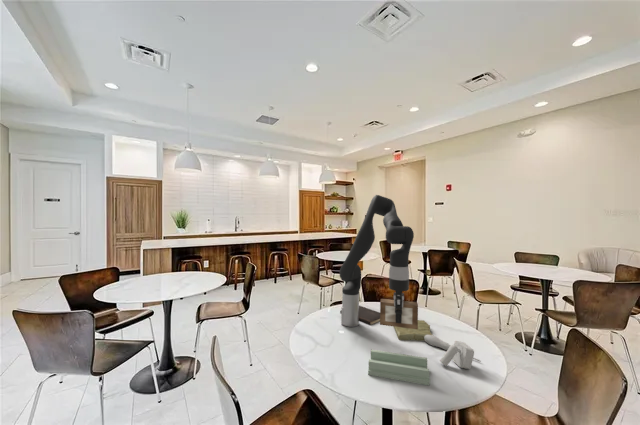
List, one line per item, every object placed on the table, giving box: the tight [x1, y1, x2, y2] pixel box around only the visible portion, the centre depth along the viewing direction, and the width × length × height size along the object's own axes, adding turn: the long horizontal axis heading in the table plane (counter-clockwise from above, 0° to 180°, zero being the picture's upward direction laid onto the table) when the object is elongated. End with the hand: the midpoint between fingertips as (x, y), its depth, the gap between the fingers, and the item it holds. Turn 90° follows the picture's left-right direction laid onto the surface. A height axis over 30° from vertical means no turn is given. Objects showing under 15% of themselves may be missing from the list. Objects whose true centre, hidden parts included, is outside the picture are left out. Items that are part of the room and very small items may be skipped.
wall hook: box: [439, 340, 475, 370], centre depth 112 cm, size 8×10×10 cm
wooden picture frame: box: [379, 298, 419, 329], centre depth 108 cm, size 14×4×9 cm, turn 73°
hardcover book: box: [339, 305, 380, 326], centre depth 165 cm, size 16×23×2 cm
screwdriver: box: [424, 334, 482, 363], centre depth 124 cm, size 5×25×4 cm, turn 40°
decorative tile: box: [392, 319, 433, 342], centre depth 144 cm, size 19×20×4 cm
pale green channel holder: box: [367, 349, 431, 386], centre depth 108 cm, size 22×12×4 cm, turn 73°
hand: (398, 320), depth 108 cm, fingers closed on wooden picture frame, 4 cm apart
